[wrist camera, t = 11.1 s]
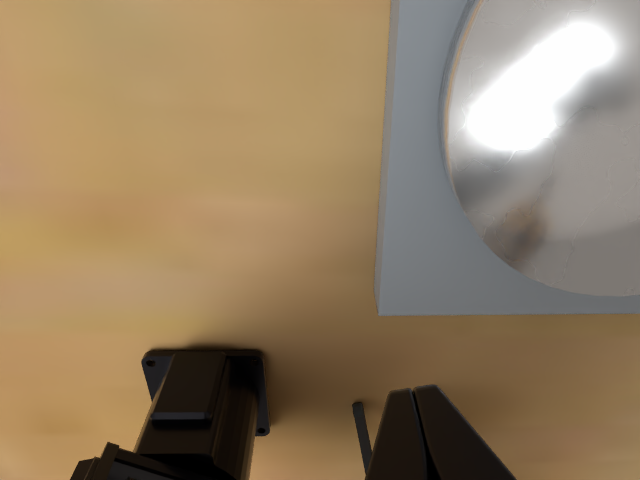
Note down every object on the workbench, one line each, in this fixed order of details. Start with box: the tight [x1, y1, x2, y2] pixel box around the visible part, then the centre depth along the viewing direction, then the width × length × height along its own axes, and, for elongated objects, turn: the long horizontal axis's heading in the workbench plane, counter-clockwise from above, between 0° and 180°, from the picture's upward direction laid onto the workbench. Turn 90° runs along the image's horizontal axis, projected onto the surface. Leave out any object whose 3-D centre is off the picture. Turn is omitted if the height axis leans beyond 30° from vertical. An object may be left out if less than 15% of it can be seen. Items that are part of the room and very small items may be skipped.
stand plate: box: [374, 0, 640, 316], centre depth 17 cm, size 20×18×2 cm
